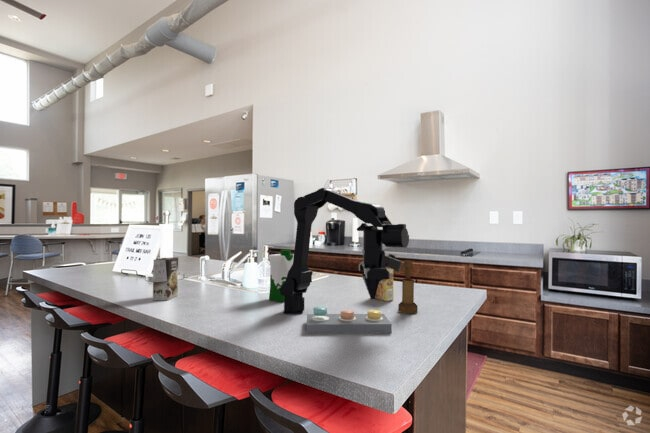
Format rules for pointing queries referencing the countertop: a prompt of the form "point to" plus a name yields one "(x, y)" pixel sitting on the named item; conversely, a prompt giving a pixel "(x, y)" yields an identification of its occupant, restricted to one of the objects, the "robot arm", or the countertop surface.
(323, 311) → the teal button
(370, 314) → the mustard button
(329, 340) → the countertop surface
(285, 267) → the milk carton
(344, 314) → the terracotta button
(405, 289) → the brown stepped post
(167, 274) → the coffee box
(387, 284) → the candy box
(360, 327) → the button console
